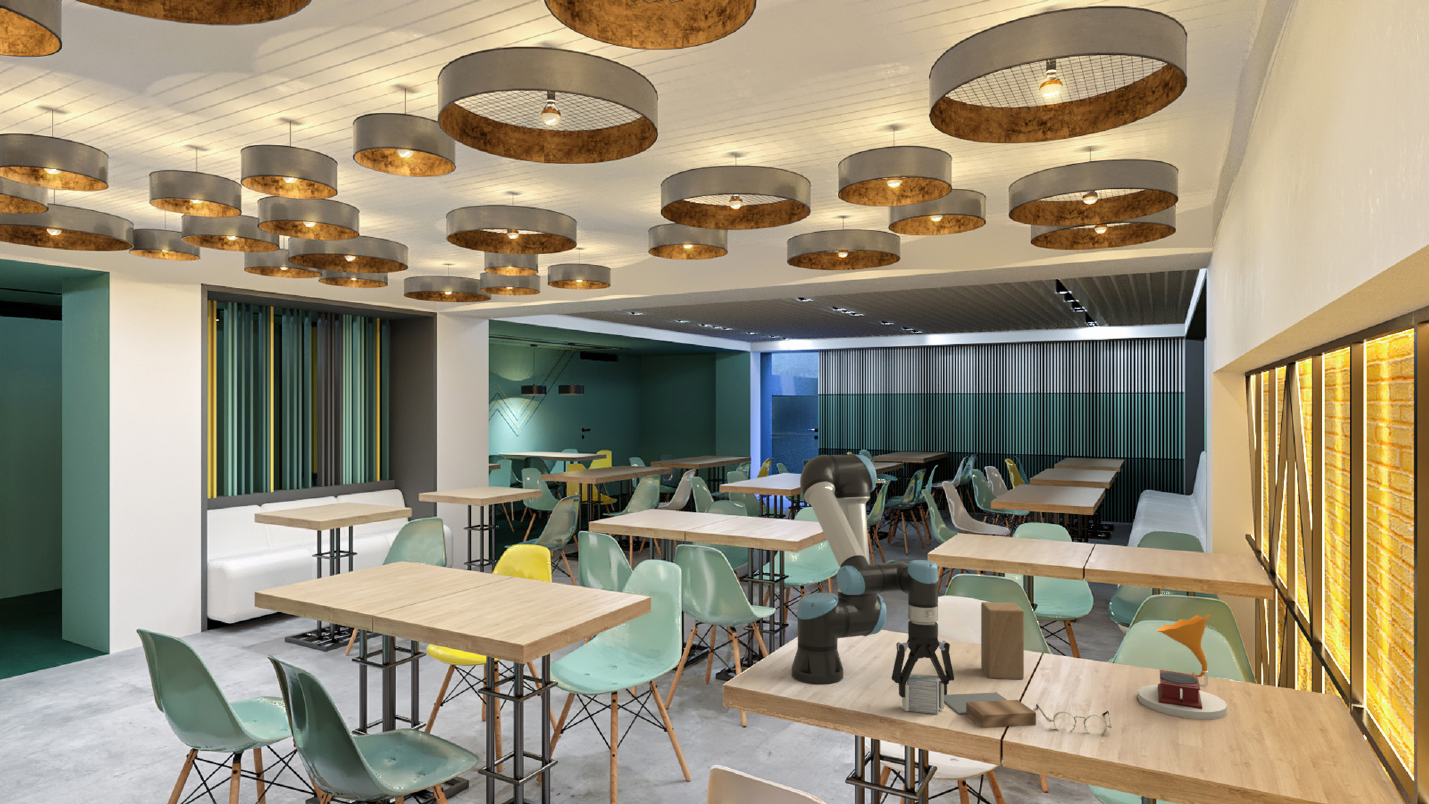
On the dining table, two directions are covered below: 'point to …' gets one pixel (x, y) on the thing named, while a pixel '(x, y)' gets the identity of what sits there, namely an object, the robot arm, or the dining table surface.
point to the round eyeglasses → (1078, 717)
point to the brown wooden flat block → (1000, 713)
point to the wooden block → (1002, 640)
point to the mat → (969, 700)
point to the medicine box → (923, 693)
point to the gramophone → (1184, 679)
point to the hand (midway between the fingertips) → (922, 708)
